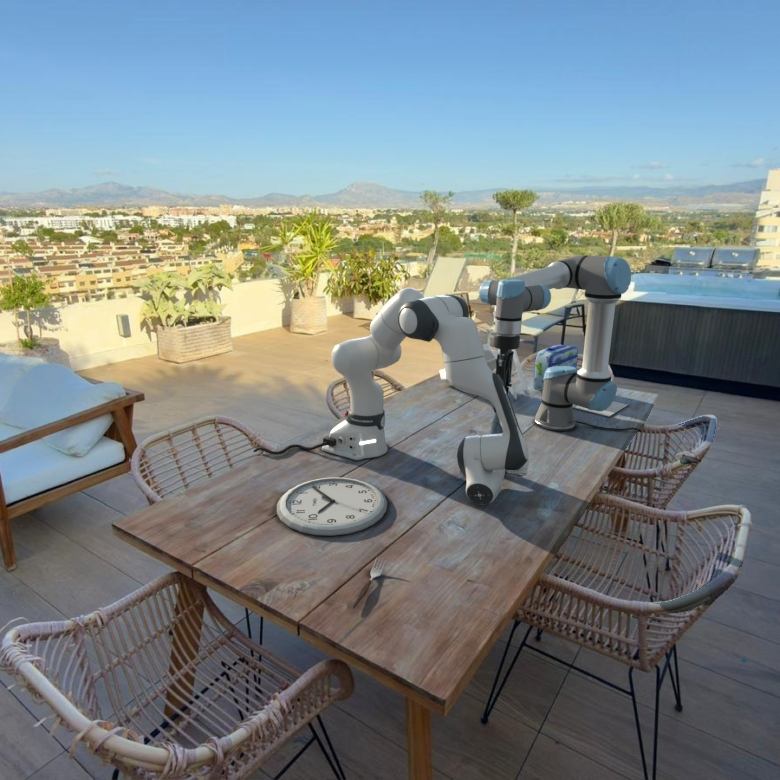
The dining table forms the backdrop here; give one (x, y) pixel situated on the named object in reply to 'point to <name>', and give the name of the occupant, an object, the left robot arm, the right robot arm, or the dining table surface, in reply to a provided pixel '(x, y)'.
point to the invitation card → (609, 411)
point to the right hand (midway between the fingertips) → (500, 409)
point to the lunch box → (553, 361)
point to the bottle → (496, 425)
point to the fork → (374, 573)
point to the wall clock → (331, 506)
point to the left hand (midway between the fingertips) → (497, 451)
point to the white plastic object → (491, 362)
